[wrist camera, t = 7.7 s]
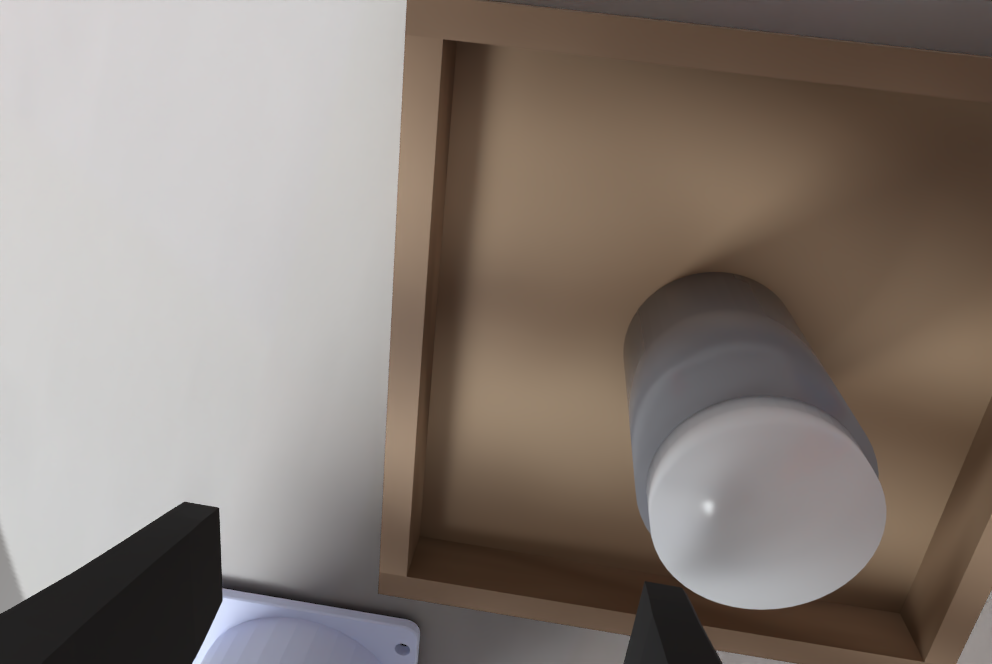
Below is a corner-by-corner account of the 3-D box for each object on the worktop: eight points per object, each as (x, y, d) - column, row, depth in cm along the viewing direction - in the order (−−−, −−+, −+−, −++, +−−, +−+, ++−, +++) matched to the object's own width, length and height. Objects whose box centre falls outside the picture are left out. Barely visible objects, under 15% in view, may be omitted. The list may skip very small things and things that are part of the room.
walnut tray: (911, 623, 23) (944, 688, 21) (397, 540, 24) (378, 593, 22) (1149, 74, 17) (1233, 85, 14) (430, -7, 18) (407, -7, 15)
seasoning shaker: (781, 430, 20) (867, 628, 14) (616, 418, 21) (627, 605, 14) (812, 276, 19) (927, 424, 12) (630, 267, 19) (651, 404, 13)
